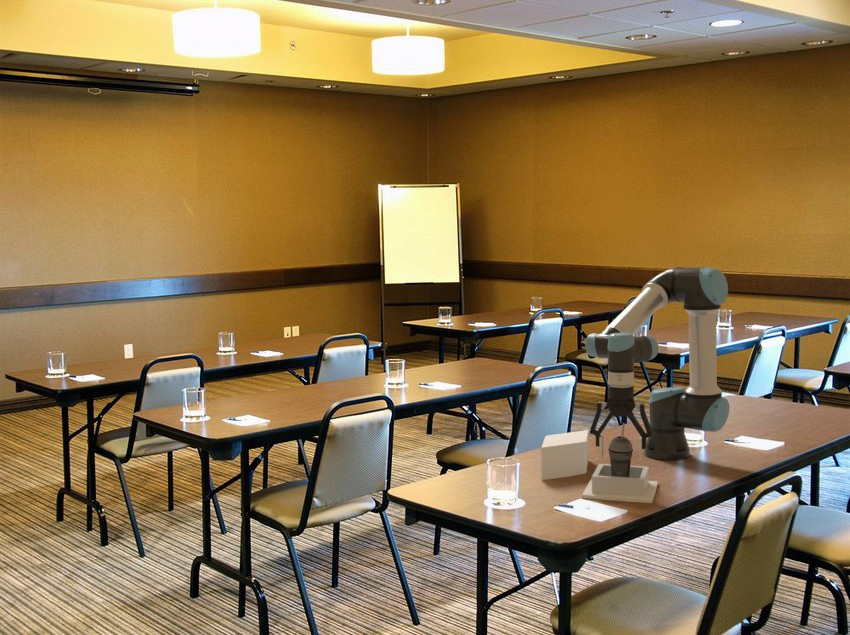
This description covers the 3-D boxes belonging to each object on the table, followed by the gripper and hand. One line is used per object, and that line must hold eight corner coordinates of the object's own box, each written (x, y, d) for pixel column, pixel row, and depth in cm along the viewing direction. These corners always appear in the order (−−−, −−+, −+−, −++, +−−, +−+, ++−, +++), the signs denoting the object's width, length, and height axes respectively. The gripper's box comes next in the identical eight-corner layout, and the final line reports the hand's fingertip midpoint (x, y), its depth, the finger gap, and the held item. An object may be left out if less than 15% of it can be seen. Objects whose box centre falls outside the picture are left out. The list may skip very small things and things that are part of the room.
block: (608, 464, 312) (608, 432, 311) (562, 484, 289) (562, 450, 288) (568, 457, 321) (568, 427, 320) (521, 477, 298) (521, 444, 297)
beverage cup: (620, 482, 285) (621, 418, 283) (638, 488, 279) (638, 422, 277) (602, 486, 281) (603, 421, 279) (619, 492, 275) (620, 425, 273)
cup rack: (592, 480, 292) (592, 461, 292) (657, 484, 286) (657, 465, 286) (582, 498, 274) (582, 478, 273) (652, 503, 267) (652, 482, 267)
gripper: (579, 386, 277) (579, 459, 279) (660, 389, 270) (660, 463, 272) (583, 382, 284) (583, 453, 286) (662, 384, 277) (662, 457, 279)
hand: (620, 458), depth 279 cm, fingers open, 11 cm apart
